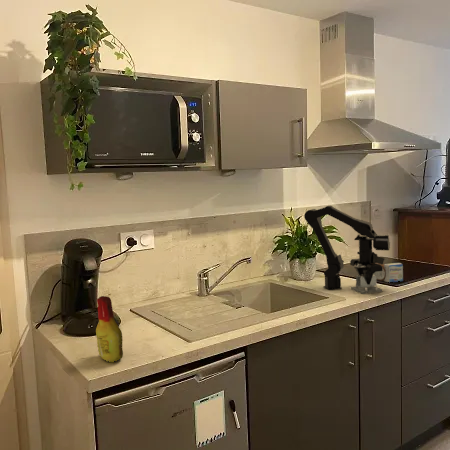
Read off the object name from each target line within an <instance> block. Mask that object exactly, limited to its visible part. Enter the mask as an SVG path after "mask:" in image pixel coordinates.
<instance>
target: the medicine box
mask: <svg viewBox="0 0 450 450" xmlns="http://www.w3.org/2000/svg"><path fill="white" fill-rule="evenodd" d="M383 264H384V263H383ZM384 268H385V270H386V277H385V279H384V280H383V282H385V283H388V282H389V283H388V284H390V282H393V283H399V282H398V281H400V282H403V281H404V270H403V269H404V266H403V263H401V262H393V263H385V264H384Z"/></svg>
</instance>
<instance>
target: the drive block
mask: <svg viewBox="0 0 450 450" xmlns="http://www.w3.org/2000/svg"><path fill="white" fill-rule="evenodd" d="M355 286H358V287H370V286H377V280H376V276H375V275H373V276H372V279H371V282H370V284H369V285H368V284H367V282H366V279H365V275H364V274H362V275H359V274H357V275H355ZM377 287H378V286H377Z"/></svg>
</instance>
